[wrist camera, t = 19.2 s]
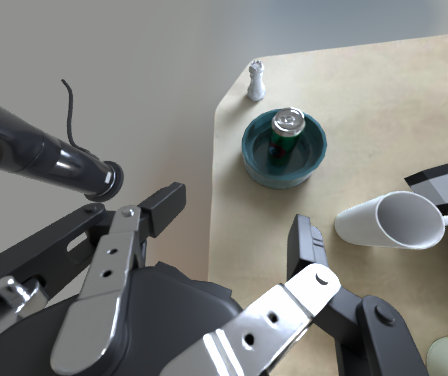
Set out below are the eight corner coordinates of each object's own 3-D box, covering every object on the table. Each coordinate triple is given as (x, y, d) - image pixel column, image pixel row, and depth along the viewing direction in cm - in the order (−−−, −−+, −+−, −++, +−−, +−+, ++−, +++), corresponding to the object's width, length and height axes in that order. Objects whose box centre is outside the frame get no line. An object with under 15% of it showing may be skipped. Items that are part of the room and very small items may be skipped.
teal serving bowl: (230, 166, 39) (226, 153, 33) (268, 117, 41) (270, 97, 35) (290, 203, 34) (297, 196, 29) (329, 146, 36) (343, 129, 31)
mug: (335, 245, 31) (382, 247, 19) (330, 208, 33) (369, 191, 21) (400, 247, 29) (492, 252, 18) (390, 208, 31) (468, 190, 20)
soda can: (291, 166, 36) (308, 132, 25) (267, 167, 37) (272, 134, 25) (290, 145, 37) (305, 103, 26) (266, 146, 38) (271, 107, 27)
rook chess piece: (245, 91, 45) (243, 60, 37) (262, 85, 44) (263, 53, 37) (250, 104, 43) (249, 75, 36) (267, 98, 43) (270, 68, 35)
